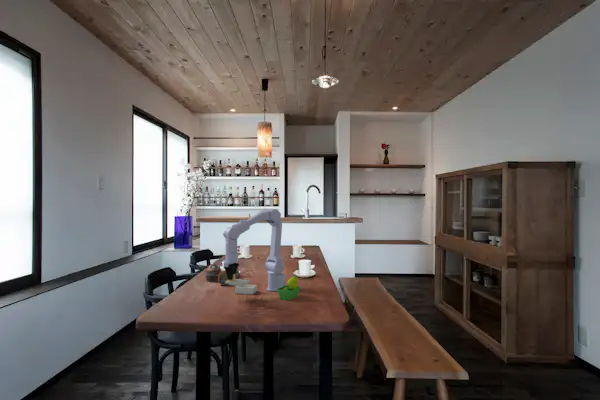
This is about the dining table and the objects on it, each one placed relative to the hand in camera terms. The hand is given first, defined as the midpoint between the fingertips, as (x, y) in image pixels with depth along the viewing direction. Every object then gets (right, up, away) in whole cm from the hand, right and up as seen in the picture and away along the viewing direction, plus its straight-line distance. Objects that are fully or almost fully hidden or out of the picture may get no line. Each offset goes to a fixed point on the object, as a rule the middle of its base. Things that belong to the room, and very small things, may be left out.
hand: (231, 278), depth 177 cm
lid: (+3, -2, -1) cm, 4 cm away
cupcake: (-18, -10, +39) cm, 44 cm away
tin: (-8, -10, +31) cm, 34 cm away
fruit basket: (+29, -10, +1) cm, 31 cm away
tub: (+6, -10, +11) cm, 16 cm away
